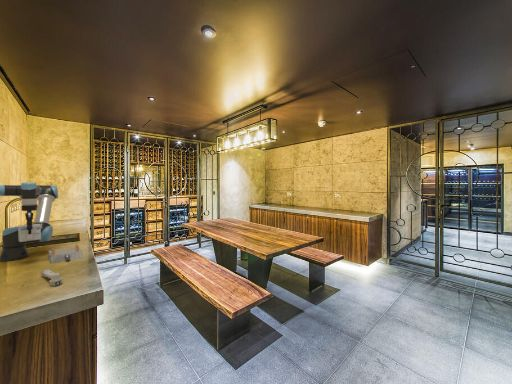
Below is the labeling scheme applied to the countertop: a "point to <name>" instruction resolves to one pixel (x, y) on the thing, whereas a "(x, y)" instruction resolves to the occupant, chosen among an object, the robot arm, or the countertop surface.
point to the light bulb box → (23, 232)
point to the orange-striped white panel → (65, 254)
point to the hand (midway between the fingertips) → (29, 237)
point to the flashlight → (52, 277)
